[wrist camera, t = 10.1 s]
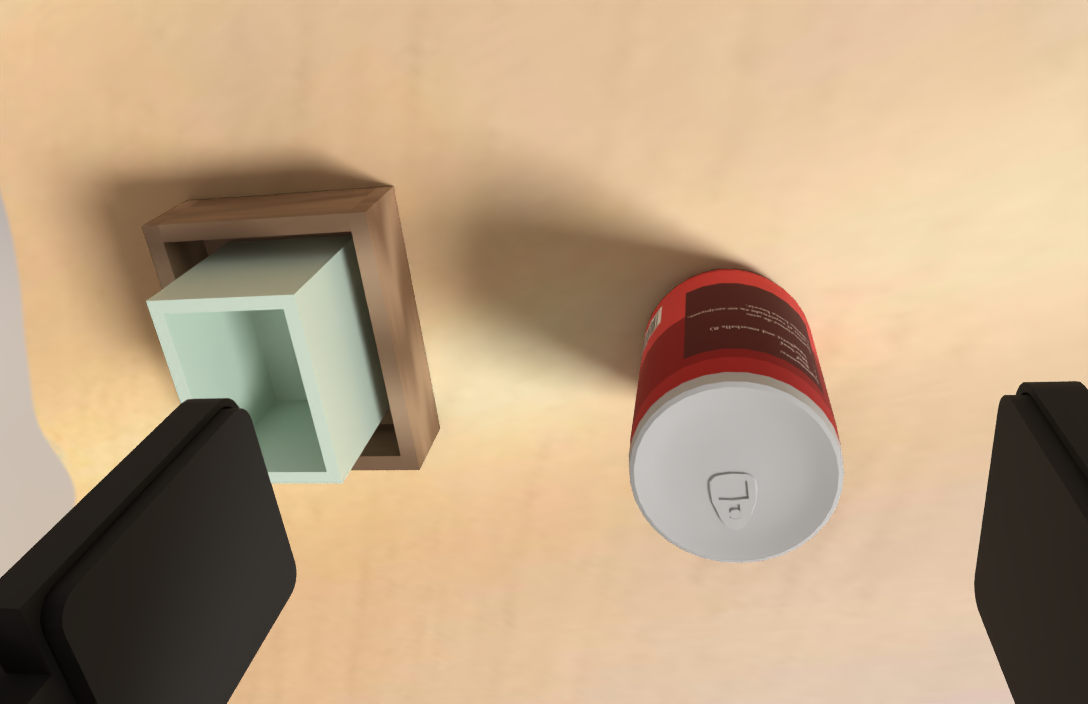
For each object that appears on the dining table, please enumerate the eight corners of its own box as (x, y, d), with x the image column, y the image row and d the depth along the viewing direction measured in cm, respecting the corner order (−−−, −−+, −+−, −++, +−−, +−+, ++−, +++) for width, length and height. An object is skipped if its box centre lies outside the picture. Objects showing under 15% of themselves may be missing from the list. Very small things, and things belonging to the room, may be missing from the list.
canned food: (680, 433, 43) (674, 585, 34) (617, 296, 40) (591, 419, 31) (833, 387, 41) (875, 536, 31) (778, 237, 38) (804, 351, 28)
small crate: (227, 242, 41) (145, 300, 35) (355, 234, 40) (294, 294, 34) (274, 405, 45) (207, 483, 39) (392, 402, 44) (342, 483, 38)
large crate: (186, 200, 42) (141, 226, 38) (393, 186, 40) (365, 212, 36) (255, 430, 47) (222, 470, 44) (439, 428, 45) (419, 469, 42)
